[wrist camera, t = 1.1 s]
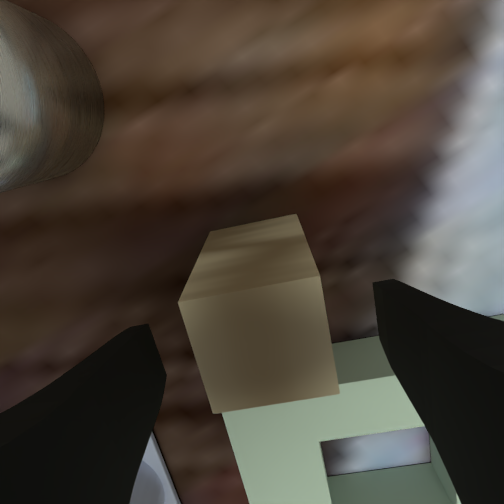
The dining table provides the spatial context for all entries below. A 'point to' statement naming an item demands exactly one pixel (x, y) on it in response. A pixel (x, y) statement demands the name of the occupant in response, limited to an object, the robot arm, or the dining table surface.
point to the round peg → (44, 100)
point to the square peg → (259, 317)
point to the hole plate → (335, 427)
